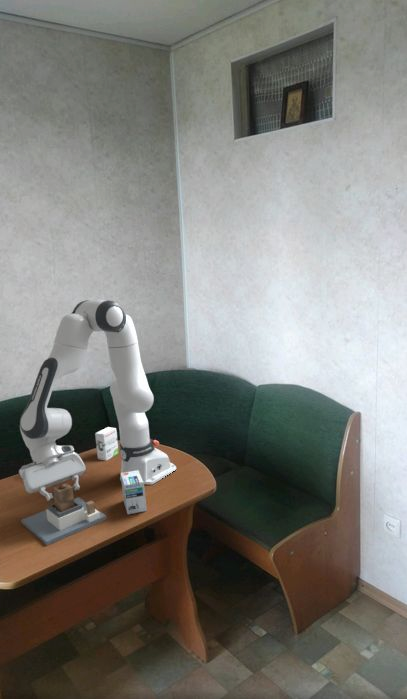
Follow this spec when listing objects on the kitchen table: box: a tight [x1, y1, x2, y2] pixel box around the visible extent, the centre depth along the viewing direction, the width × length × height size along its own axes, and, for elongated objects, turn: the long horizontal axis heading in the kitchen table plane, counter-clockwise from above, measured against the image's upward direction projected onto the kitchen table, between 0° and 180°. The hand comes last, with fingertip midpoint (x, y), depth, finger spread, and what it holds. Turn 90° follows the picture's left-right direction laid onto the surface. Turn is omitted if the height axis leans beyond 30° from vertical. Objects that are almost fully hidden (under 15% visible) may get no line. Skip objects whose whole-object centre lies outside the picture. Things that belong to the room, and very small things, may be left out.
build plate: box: [20, 497, 107, 546], centre depth 175 cm, size 21×19×7 cm
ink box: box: [94, 426, 120, 461], centre depth 226 cm, size 9×5×12 cm, turn 150°
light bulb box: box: [120, 470, 148, 515], centre depth 182 cm, size 11×7×11 cm, turn 17°
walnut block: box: [52, 482, 75, 512], centre depth 173 cm, size 4×4×8 cm
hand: (64, 494), depth 172 cm, fingers open, 8 cm apart
